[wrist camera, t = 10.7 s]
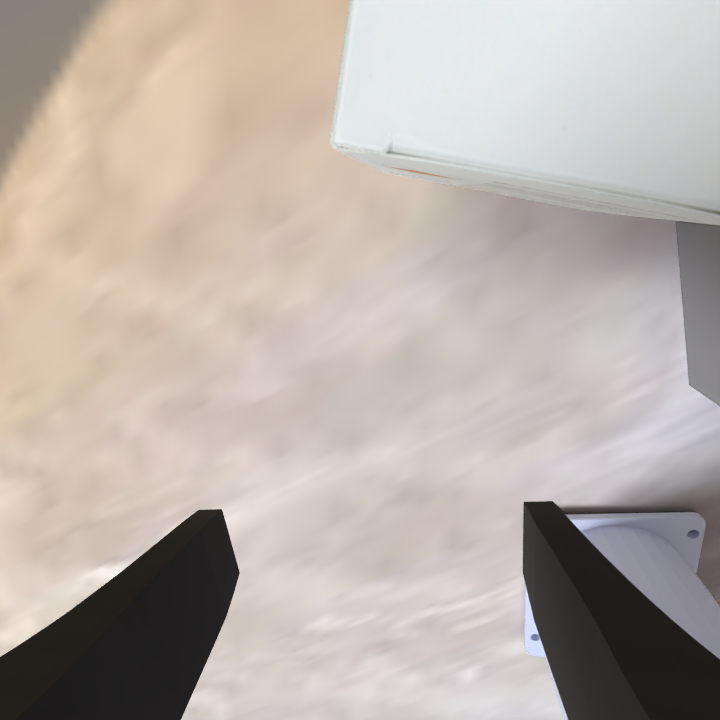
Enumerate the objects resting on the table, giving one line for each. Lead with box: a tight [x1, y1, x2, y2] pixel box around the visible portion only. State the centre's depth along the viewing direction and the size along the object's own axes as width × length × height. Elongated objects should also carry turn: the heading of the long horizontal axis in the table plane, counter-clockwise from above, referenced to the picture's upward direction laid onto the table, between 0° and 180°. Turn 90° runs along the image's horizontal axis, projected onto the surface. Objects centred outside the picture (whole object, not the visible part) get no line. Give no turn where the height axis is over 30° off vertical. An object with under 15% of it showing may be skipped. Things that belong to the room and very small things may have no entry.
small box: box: [330, 0, 720, 226], centre depth 11 cm, size 8×6×10 cm
